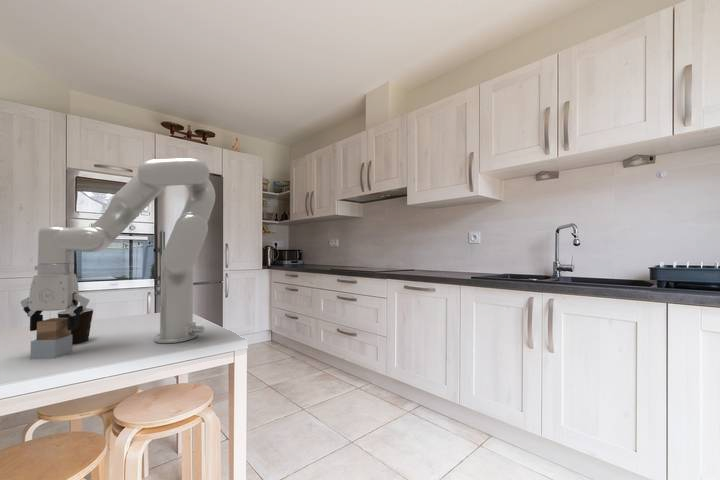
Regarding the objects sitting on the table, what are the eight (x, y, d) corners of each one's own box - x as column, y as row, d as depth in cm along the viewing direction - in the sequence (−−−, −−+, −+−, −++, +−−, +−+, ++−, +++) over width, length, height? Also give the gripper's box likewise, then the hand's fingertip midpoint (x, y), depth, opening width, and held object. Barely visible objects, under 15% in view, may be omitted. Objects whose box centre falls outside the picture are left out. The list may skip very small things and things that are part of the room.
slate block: (72, 351, 92) (72, 334, 92) (54, 358, 86) (55, 340, 86) (49, 352, 91) (50, 335, 91) (30, 359, 85) (30, 341, 85)
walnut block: (55, 339, 87) (56, 321, 87) (36, 340, 86) (36, 322, 87) (70, 334, 92) (71, 317, 92) (52, 335, 91) (53, 317, 91)
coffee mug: (85, 344, 98) (86, 312, 98) (50, 347, 95) (51, 314, 95) (100, 334, 109) (101, 305, 109) (69, 337, 106) (70, 307, 106)
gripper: (9, 270, 85) (8, 333, 85) (78, 270, 87) (76, 332, 86) (35, 268, 92) (34, 326, 92) (98, 268, 94) (97, 325, 94)
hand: (54, 329), depth 89 cm, fingers open, 9 cm apart
